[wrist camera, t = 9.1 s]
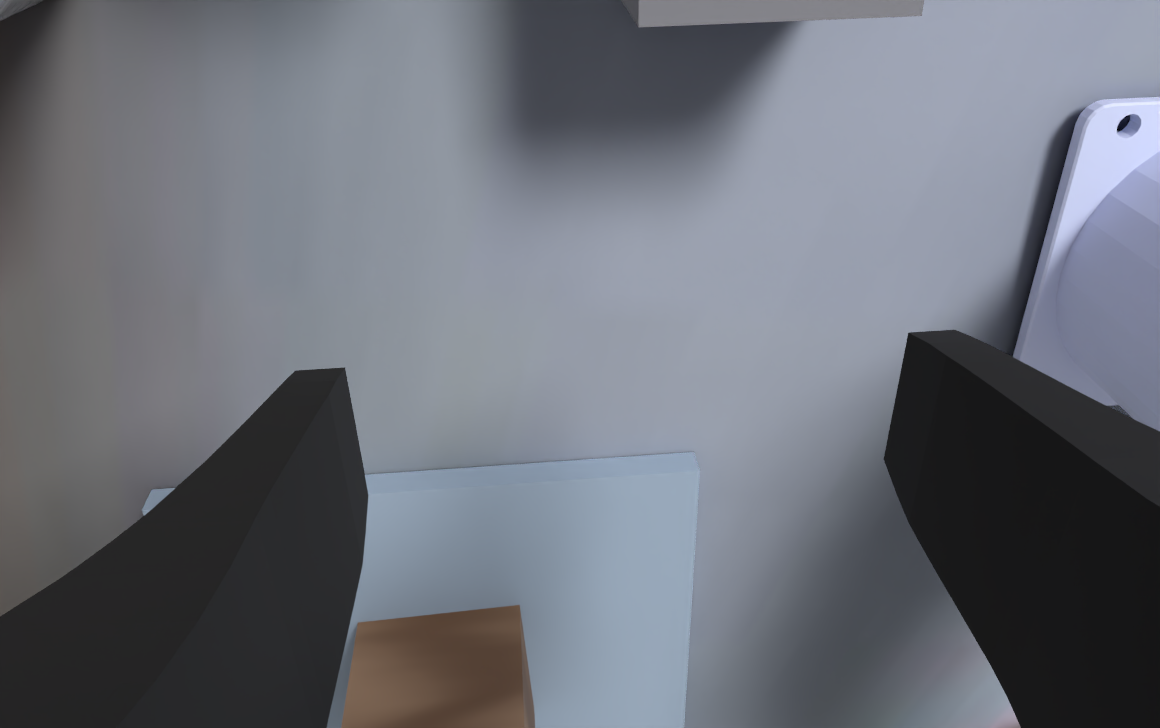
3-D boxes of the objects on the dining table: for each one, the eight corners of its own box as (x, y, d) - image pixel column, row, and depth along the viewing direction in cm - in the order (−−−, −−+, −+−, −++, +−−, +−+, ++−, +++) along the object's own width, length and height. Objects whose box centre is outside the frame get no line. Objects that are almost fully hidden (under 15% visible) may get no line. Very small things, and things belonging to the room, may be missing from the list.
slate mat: (694, 452, 24) (700, 470, 24) (675, 775, 32) (679, 796, 31) (151, 489, 23) (141, 510, 23) (263, 812, 31) (258, 835, 30)
